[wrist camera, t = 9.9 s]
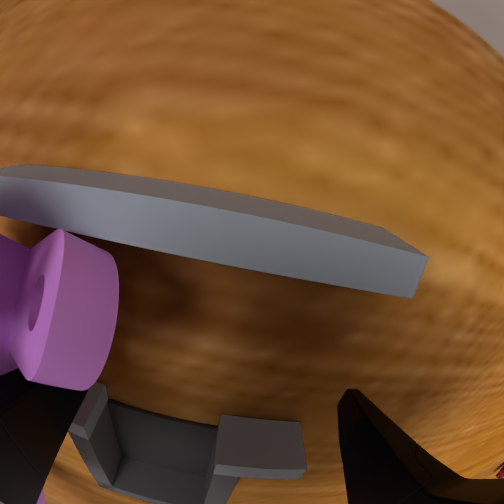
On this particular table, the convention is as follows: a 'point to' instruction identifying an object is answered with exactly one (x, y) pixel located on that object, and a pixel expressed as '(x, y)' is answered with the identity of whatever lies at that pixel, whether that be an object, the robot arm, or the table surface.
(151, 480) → the trap pit
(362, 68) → the table surface
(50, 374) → the bracket
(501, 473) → the red labelled container
